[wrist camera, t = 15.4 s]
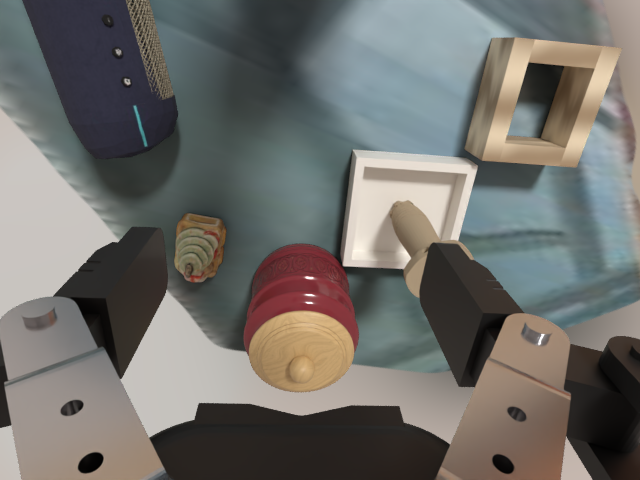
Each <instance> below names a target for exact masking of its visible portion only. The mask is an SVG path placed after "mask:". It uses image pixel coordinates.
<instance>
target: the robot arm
mask: <svg viewBox="0 0 640 480" xmlns="http://www.w3.org/2000/svg"><path fill="white" fill-rule="evenodd" d="M167 283H168V273H167V263H166V254H165V245H164V236H163V232H162V230H161V228H150V227H132V228H131V229H130V230H129V231H128V232H127V233H126V234H125V235H124V236H123V238H122V239H121V240H120V241H119V242H118V243H117V242H112V243H110V244H108V245H106V246H104V247H102V248H100V249H98V250H97V251H96V252H94V254H93V255H92V256H91V257H90V258H89V259H88V260H87V262H86V263H84V264H83V265H82V266H81V267H80V268H79V270H78V272H76V273H75V274H74V275H73V276H72V277H71V278H70V279H69V280H68V281H67V282H66V283H65V284H64V285H63V286H62V287H61V288H60V289H59V290H58V291H57V292H56V293H55V295H54V296H53V297H44V298H39V299H35V300H31V301H28V302H25V303H23V304H20V305H18V306H16V307H15V308H13V309H11V310H10V311H8V312H7V313H6V314H5V315H4V316H3V317H2V318H1V319H0V428H2V427H6V426H10V425H12V430H13V436H14V441H15V447H16V452H17V457H18V463H19V468H20V474H21V479H22V480H561V472H562V464H563V456H564V447H565V440H566V436H567V438H568V440H569V442H570V443H571V445H572V446H573V448H574V450H575V451H576V453H577V455H578V456H579V458H580V460H581V461H582V463H583V465H584V466H585V468H586V470H587V471H588V473H589V474H590V476H591V477H592V479H593V480H640V340H639V339H636V338H631V337H626V336H616V337H613V338H611V339H610V340H609V341H608V343H607V345H606V347H605V349H604V351H603V352H602V351H598V350H594V349H589V348H585V347H581V346H577V345H573V344H570V340H569V338H568V336H567V335H566V334H565V332H564V331H563V330H562V329H561V328H559V327H558V326H556V325H555V324H553V323H552V322H550V321H548V320H546V319H543V318H541V317H538V316H535V315H531V314H525V313H524V312H523V311H522V310H521V308H520V307H519V306H518V305H517V304H516V302H515V301H514V300H513V299H512V298H511V296H510V295H509V294H508V293H507V292H506V290H503V287H502V286H501V284H500V283H499V282H498V281H496V278H495V277H494V276H493V275H492V273H491V272H490V271H489V270H488V269H487V268H485V267H484V266H482V265H481V264H479V263H478V262H476V261H475V260H471V259H470V258H469V257H468V256H467V254H466V253H465V252H464V251H463V249H462V248H461V247H460V245H459V244H455V243H435V242H433V243H432V244H431V245H430V247H429V250H428V254H427V258H426V262H425V266H424V271H423V275H422V279H421V284H420V290H419V297H420V303H421V306H422V308H423V311H424V313H425V315H426V317H427V319H428V321H429V323H430V326H431V328H432V330H433V332H434V334H435V336H436V338H437V341H438V343H439V345H440V347H441V349H442V351H443V354H444V356H445V358H446V360H447V362H448V364H449V366H450V369H451V371H452V373H453V375H454V377H455V379H456V381H457V384H458V386H459V387H475V389H474V391H473V393H472V395H471V398H470V400H469V403H468V405H467V407H466V410H465V412H464V414H463V416H462V419H461V421H460V423H459V426H458V428H457V430H456V433H455V435H454V437H453V440H452V442H451V444H448V443H447V442H446V441H444V440H442V439H441V438H439V437H437V436H436V435H434V434H432V433H430V432H428V431H426V430H424V429H421V428H419V427H416V426H413V425H410V424H407V423H404V422H403V418H402V414H401V411H400V407H399V406H347V407H342V408H338V409H333V410H328V411H324V412H319V413H314V414H310V415H304V416H298V415H294V414H290V413H285V412H281V411H277V410H273V409H268V408H264V407H260V406H256V405H252V404H219V403H215V404H214V403H199V405H198V408H197V412H196V416H195V420H192V421H188V422H184V423H181V424H178V425H175V426H172V427H170V428H168V429H165V430H163V431H161V432H159V433H157V434H155V435H153V436H152V437H150V438H149V437H148V435H147V433H146V431H145V429H144V427H143V425H142V423H141V421H140V419H139V417H138V415H137V413H136V411H135V409H134V407H133V405H132V403H131V401H130V399H129V397H128V395H127V393H126V391H125V389H124V386H123V384H122V383H121V381H120V379H121V378H122V377H123V375H124V373H125V371H126V369H127V367H128V365H129V363H130V361H131V360H132V358H133V356H134V354H135V352H136V350H137V348H138V346H139V344H140V342H141V340H142V338H143V336H144V334H145V332H146V331H147V329H148V327H149V325H150V323H151V321H152V319H153V317H154V315H155V313H156V311H157V309H158V307H159V305H160V303H161V301H162V300H163V298H164V296H165V293H166V290H167Z"/></svg>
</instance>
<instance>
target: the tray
mask: <svg viewBox="0 0 640 480" xmlns="http://www.w3.org/2000/svg"><path fill="white" fill-rule="evenodd" d="M477 168H478V165H476V164H475V163H473V162H472V161H470V160H469V159H467V158H463V157H449V156H435V155H422V154H408V153H394V152H380V151H366V150H353V152H352V160H351V168H350V176H349V185H348V193H347V201H346V209H345V217H344V225H343V234H342V242H341V250H340V255H341V259H342V264H343V266H351V267H373V268H394V269H404V268H405V266H406V265H407V263H408V262H409V260H410V259H411V257H410V256H409V254H408V252H407V251H406V250H405V248H404V247H403V245H402V244H401V242H400V241H399V239H398V237H397V236H396V234H395V231H394V228H393V225H392V219H391V218H390V211H391V210H392V209H393V207H394V203H395V202H396V201H401V202H404V201H407V200H409V201H411V202H412V203H413V204H414V205H415V206H416V207H418V208H419V209H420V210H421V211H422V212H423V213H424V214H425V215H426V217H427V218H428V219H429V221H430V223H431V224H432V226H433V228H434V230H435V232H436V233H437V235H438V237H439V239H440V240H441V241H445V240H456V241H458V239H459V235H460V231H461V227H462V224H463V220H464V216H465V213H466V209H467V205H468V201H469V198H470V194H471V190H472V187H473V183H474V179H475V176H476V172H477Z"/></svg>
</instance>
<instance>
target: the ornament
mask: <svg viewBox="0 0 640 480" xmlns="http://www.w3.org/2000/svg"><path fill="white" fill-rule="evenodd" d="M176 235H177V238H176V251H175V259H174V263H175V267H176V269H177V270H178V271H179V272H180V273H182V274H183V275H184V277H185V279H186V280H187V281H190V282H203V281H204V280H205V279H206V278H207V277H213V276H214V275H216V273H217V269H218V266H219V264H221V263H222V260H223V253H224V247H223V245H224V243H225V237H226V227H225V226H224V223H223V221H222V220H221V219H219V218H214V217H207V216H202V215H197V214H191V213H186V214H184V215H183V217H182V219H181V220H180V221H179V222H178V225H177V231H176Z"/></svg>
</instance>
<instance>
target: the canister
mask: <svg viewBox="0 0 640 480" xmlns="http://www.w3.org/2000/svg"><path fill="white" fill-rule="evenodd" d="M243 338H244V346H245V349H246V352H247V354H248V356H249V359H250V363H251V366H252V368H253V369H254V371H255V372H256V374H257V375H258V376H259V377H260V378H261V379H262V380H263V381H265V382H266V383H268V384H269V385H271V386H273V387H275V388H278V389H281V390H285V391H290V392H310V391H315V390H319V389H322V388H325V387H327V386H329V385H331V384H333V383H335V382H336V381H338V380H339V379H340V378H341V377H342V376H343V375H344V374H345V373H346V372H347V370H348V369H349V367H350V365H351V363H352V360H353V356H354V353H355V350H356V348H357V345H358V339H359V331H358V326H357V323H356V320H355V311H354V307H353V304H352V301H351V300H350V295H349V283H348V279H347V275H346V273H345V271H344V269H343V267H342V265H341V264H340V263H339V261H338V260H337V259H336V258H335V257H334V256H333V255H332V254H331V253H330V252H328V251H326V250H325V249H323V248H320V247H318V246H315V245H310V244H292V245H287V246H284V247H281V248H279V249H277V250H275V251H274V252H272V253H271V254H269V255H268V256H267V257H266V258H265V259H264V260H263V262H262V263H261V265H260V266H259V268H258V269H257V271H256V273H255V276H254V280H253V284H252V298H251V303H250V305H249V308H248V311H247V323H246V325H245V329H244V336H243Z"/></svg>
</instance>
